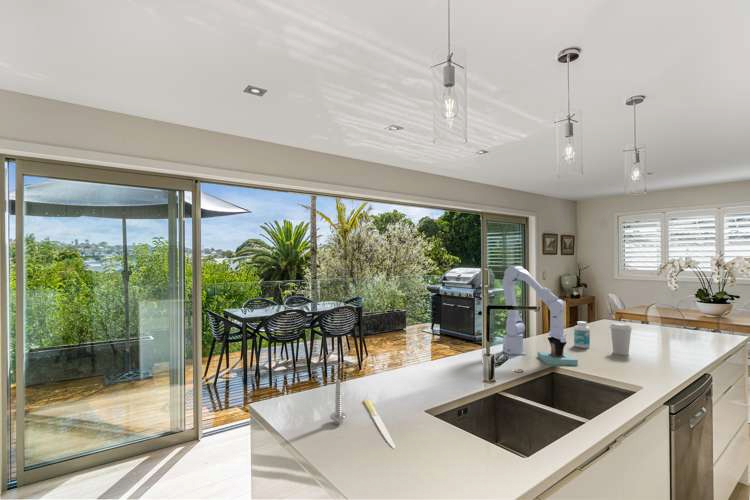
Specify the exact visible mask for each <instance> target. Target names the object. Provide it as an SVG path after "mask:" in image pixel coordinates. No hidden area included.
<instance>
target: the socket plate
mask: <svg viewBox="0 0 750 500" xmlns="http://www.w3.org/2000/svg"><path fill="white" fill-rule="evenodd" d="M537 358H539V359H540V360H541V361H542V362H544V363H545V364H546V365H550V366H578V360H579V359H578V358H575V357H574V356H572V355H570V354H568V353H567V352H565V351H563V357H552V356H551V351H537Z"/></svg>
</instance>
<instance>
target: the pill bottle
mask: <svg viewBox="0 0 750 500" xmlns="http://www.w3.org/2000/svg"><path fill="white" fill-rule="evenodd" d="M576 323H577V325H574V328H573V331H574V332H573V334H574V335H573V345H574V346H575V347H576V348H580V349H589V348H590V347H591V346H590V345H591V344H590V339H591V337H590V336H591V335H590V334H591V329H590V327H589V326H588V322H587V321H583V320H580V321H576Z"/></svg>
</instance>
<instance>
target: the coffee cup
mask: <svg viewBox="0 0 750 500" xmlns="http://www.w3.org/2000/svg"><path fill="white" fill-rule="evenodd" d="M609 328H610V332H611V341H612V352H613V354H614V355H619V356H629V353H630V345H631V344H630V343H631V335H632V334H631V333H632V330H633V327H632V326H631V324H630V323H627V322H611V324H610V325H609Z"/></svg>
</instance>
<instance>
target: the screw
mask: <svg viewBox="0 0 750 500" xmlns="http://www.w3.org/2000/svg"><path fill="white" fill-rule="evenodd" d="M334 391H335V394H334V395H335V396H334V401H335V402H334V409H335V410H334V412H333V413H331V414H330V415H329V419H330V420H332V421H333V424H334V425H337V426H339V425H341V424H343V423H344V422H343V420H345V419H346V418H347V415H346V414H345V412H343V411H342V388H341V380H340V379H336V380H335V390H334Z"/></svg>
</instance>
